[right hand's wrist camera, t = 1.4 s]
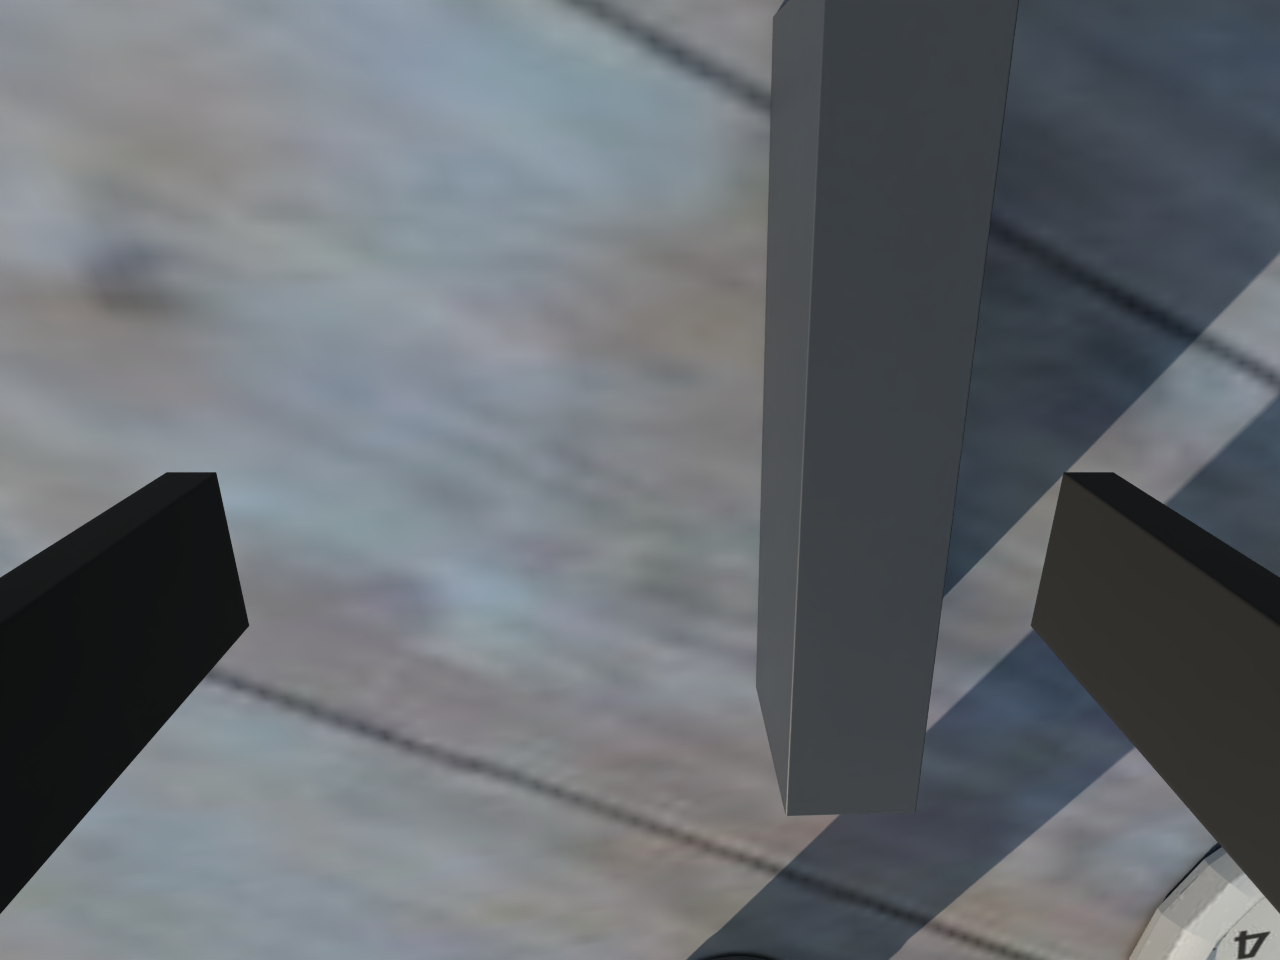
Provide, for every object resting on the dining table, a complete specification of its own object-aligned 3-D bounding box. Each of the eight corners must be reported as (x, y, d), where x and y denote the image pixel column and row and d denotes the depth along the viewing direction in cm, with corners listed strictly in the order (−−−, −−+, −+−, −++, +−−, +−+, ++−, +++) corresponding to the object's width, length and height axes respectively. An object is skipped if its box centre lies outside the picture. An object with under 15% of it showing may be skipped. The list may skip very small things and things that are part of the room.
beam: (772, 15, 27) (824, -43, 19) (918, 10, 27) (1026, -51, 19) (756, 687, 37) (785, 816, 30) (860, 684, 37) (916, 812, 30)
